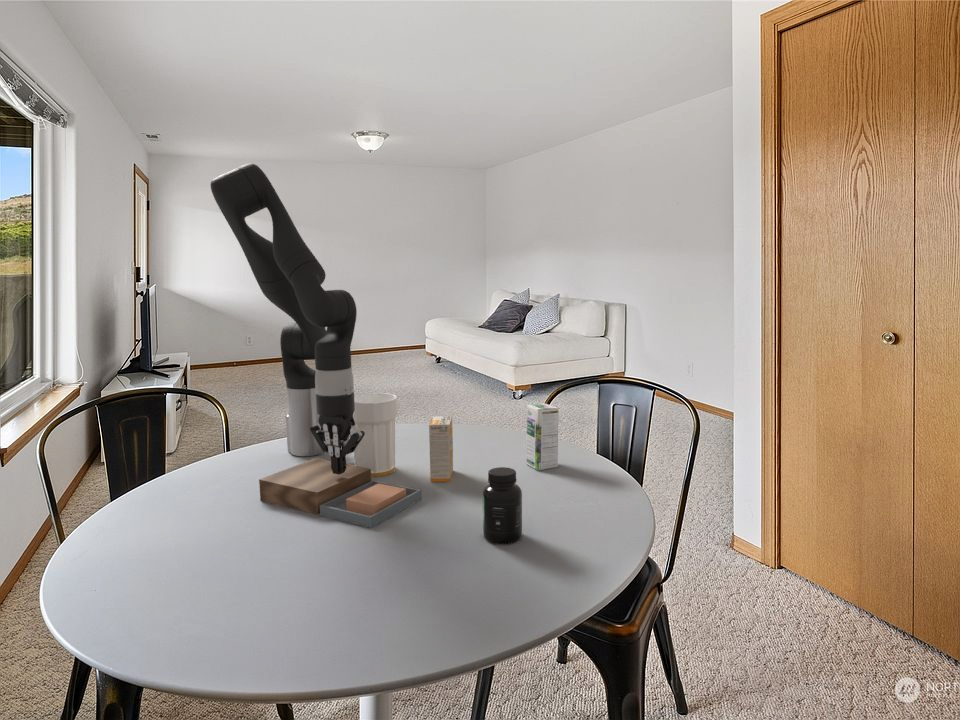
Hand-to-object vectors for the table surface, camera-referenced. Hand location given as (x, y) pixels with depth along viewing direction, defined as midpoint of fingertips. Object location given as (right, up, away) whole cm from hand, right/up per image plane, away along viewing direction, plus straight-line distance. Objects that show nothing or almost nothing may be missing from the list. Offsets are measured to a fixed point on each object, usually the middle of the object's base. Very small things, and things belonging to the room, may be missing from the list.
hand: (339, 472), depth 131 cm
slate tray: (+7, -6, -4) cm, 10 cm away
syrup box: (+44, -2, +20) cm, 48 cm away
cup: (+4, -3, +18) cm, 19 cm away
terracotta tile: (+8, -3, -5) cm, 10 cm away
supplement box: (+20, -3, +14) cm, 25 cm away
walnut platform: (-5, -5, +3) cm, 8 cm away
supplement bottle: (+33, -8, -18) cm, 39 cm away
